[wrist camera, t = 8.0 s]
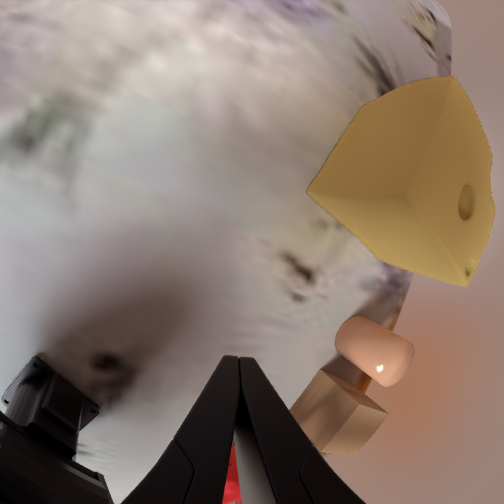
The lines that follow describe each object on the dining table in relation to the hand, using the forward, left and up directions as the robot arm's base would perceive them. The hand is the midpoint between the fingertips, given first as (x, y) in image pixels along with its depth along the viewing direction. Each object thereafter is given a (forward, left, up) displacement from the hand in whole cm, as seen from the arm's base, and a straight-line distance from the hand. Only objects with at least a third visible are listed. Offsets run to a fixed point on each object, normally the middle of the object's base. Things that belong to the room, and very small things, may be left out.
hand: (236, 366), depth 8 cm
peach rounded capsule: (+7, -15, -13) cm, 21 cm away
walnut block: (+1, -18, -13) cm, 22 cm away
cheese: (+16, -5, -13) cm, 21 cm away
